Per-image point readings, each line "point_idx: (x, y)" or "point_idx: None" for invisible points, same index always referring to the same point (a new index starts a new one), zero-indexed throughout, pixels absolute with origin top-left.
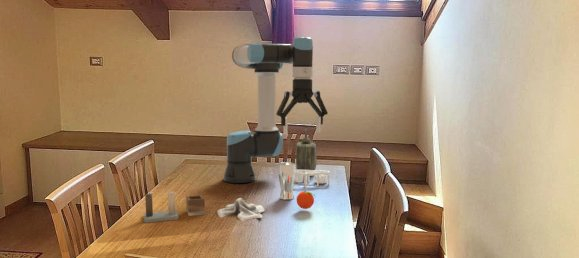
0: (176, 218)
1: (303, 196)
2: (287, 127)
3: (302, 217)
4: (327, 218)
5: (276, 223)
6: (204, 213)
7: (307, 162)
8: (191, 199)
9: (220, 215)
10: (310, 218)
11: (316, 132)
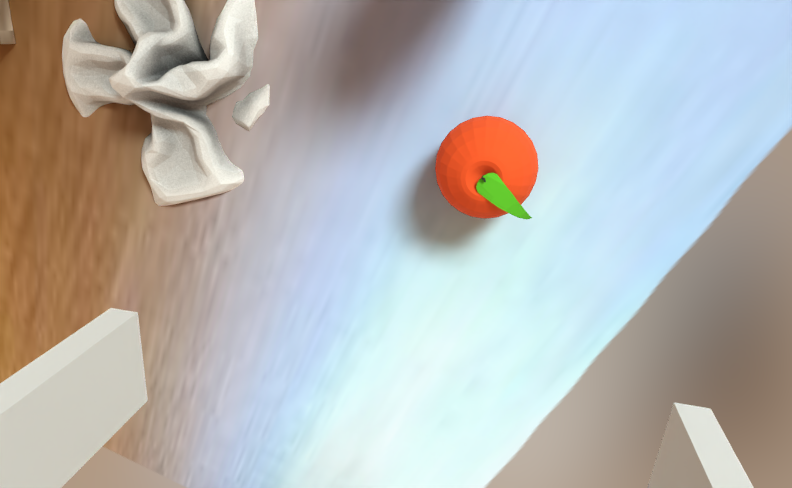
0: None
1: (456, 204)
2: (70, 476)
3: (408, 274)
4: (503, 333)
5: (279, 292)
6: (11, 43)
7: None
8: None
9: (76, 106)
10: (434, 301)
11: (670, 418)
